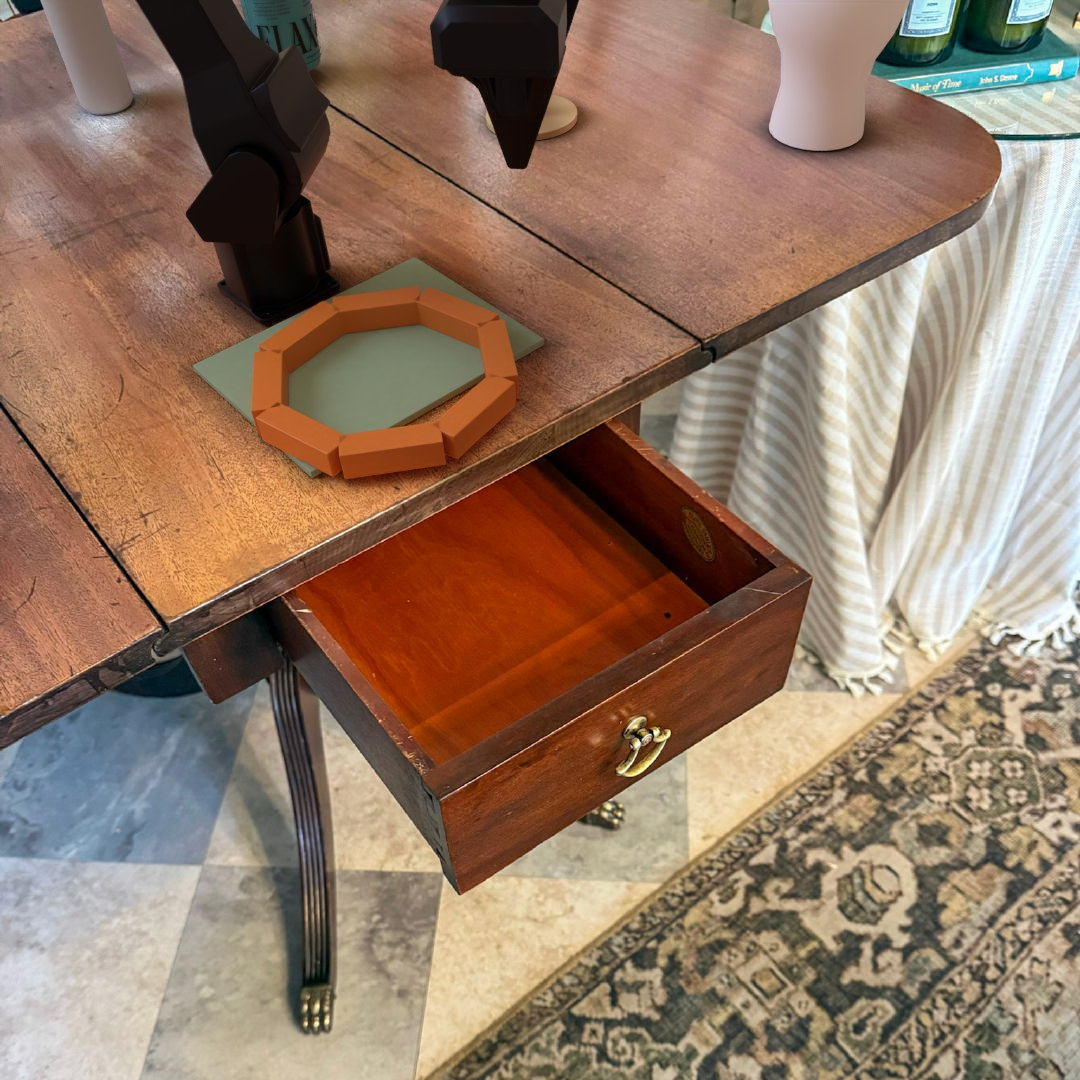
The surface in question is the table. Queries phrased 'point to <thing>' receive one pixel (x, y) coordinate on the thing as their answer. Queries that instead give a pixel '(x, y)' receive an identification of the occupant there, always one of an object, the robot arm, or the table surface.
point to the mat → (370, 364)
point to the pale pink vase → (827, 67)
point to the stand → (553, 118)
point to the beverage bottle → (284, 26)
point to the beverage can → (90, 54)
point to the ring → (392, 444)
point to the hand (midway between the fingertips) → (529, 130)
